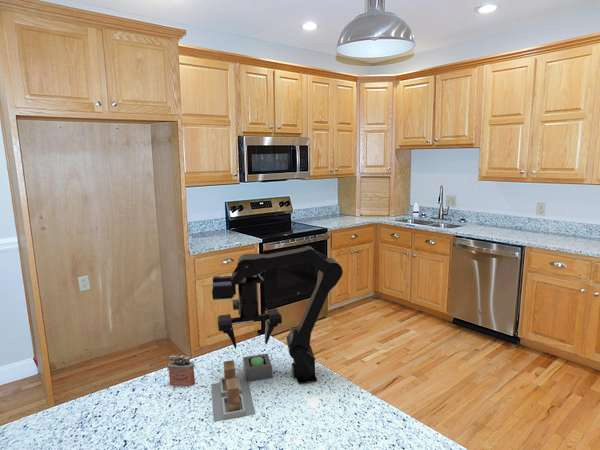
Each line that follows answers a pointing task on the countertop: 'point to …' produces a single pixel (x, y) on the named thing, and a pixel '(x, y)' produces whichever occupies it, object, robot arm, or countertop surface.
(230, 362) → the billet
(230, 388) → the billet
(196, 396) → the countertop surface
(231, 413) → the grey socket board
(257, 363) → the button
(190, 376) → the lighter
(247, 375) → the button box
